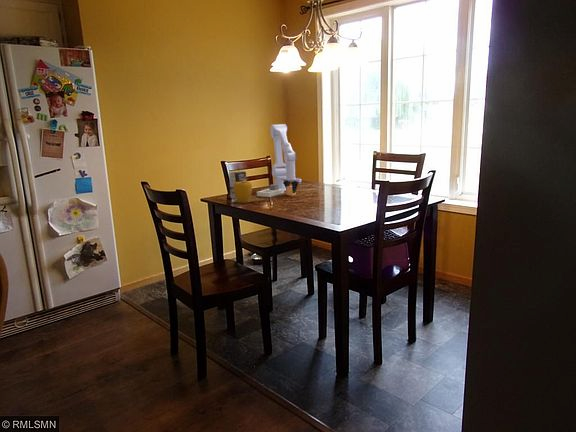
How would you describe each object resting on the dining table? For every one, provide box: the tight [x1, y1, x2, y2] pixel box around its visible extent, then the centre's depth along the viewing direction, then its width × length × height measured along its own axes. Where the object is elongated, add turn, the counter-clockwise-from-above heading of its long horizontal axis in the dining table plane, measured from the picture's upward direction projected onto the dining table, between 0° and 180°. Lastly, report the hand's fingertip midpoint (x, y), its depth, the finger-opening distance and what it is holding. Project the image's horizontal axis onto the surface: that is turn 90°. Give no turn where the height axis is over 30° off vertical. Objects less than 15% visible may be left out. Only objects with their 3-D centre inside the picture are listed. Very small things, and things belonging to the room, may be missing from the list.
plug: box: [286, 185, 297, 197], centre depth 273 cm, size 4×4×6 cm
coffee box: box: [228, 170, 247, 200], centre depth 269 cm, size 9×6×16 cm
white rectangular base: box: [256, 183, 285, 199], centre depth 275 cm, size 16×10×6 cm, turn 146°
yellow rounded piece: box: [234, 180, 253, 204], centre depth 255 cm, size 11×11×13 cm
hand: (291, 192), depth 274 cm, fingers closed on plug, 4 cm apart
